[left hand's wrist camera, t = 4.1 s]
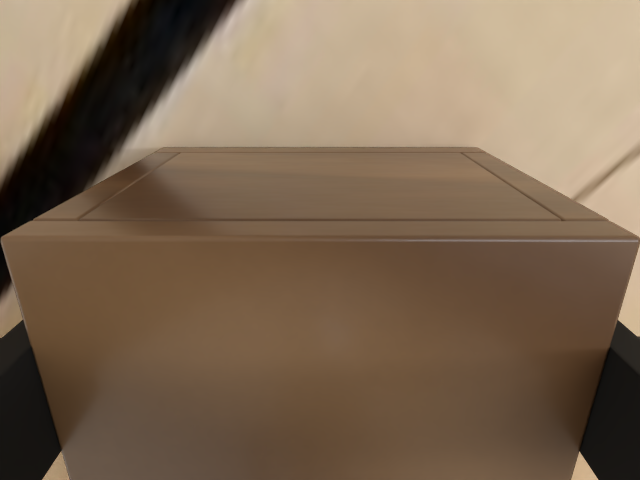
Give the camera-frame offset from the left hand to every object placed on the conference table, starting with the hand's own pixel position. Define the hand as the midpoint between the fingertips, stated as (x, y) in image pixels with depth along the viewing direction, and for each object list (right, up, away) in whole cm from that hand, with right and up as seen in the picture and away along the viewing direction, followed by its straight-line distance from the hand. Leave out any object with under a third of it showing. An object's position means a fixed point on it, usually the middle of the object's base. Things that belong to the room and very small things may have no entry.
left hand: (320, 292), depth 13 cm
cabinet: (0, -4, +6) cm, 7 cm away
